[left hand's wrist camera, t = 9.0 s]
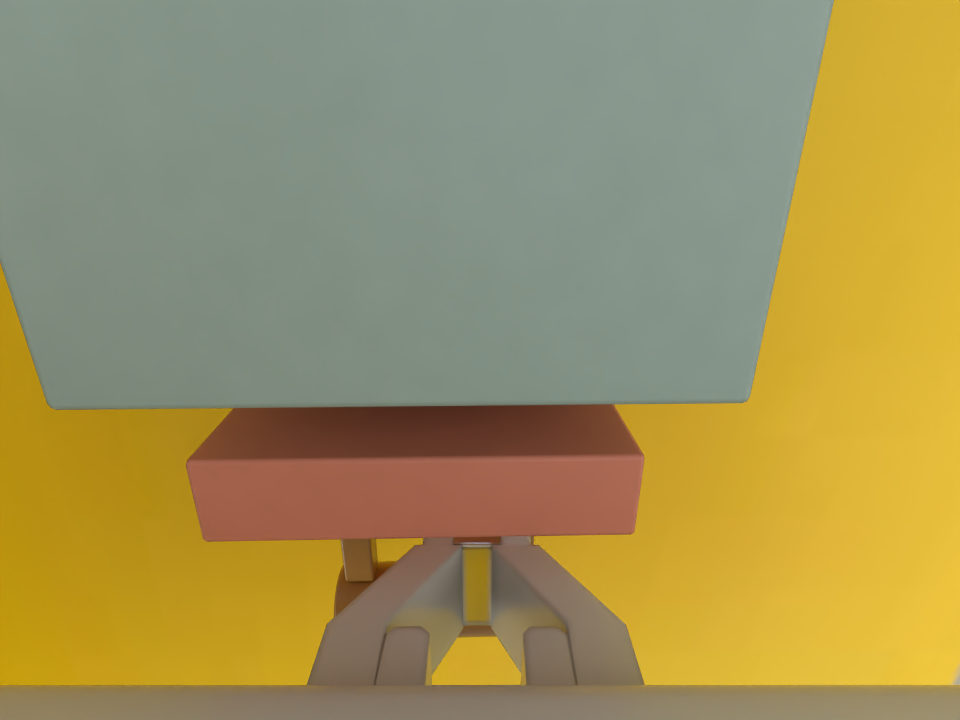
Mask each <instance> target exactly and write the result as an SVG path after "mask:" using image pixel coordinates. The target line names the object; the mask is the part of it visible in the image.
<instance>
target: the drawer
mask: <svg viewBox="0 0 960 720" xmlns="http://www.w3.org/2000/svg"><path fill="white" fill-rule="evenodd" d="M643 465H644V455H643V453H642V451H641V450H640V448H639V446H638V445H637V443H636V441H635V440H634V438H633V436H632V435H631V433H630V431H629V430H628V428H627V426H626V425H625V423H624V421H623V420H622V418H621V416H620V414H619V413H618V411H617V409H616V408H615V406H614V404H589V405H488V406H386V407H284V408H234V409H233V410H232V411H231V412H230V413H229V414H228V415H227V416H226V417H225V419H224V420H223V421H222V422H221V423H220V424H219V425H218V426H217V428H216V429H215V430H214V431H213V432H212V433H211V434H210V435H209V436H208V438H207V439H206V440H205V441H204V442H203V443H202V444H201V445H200V446H199V448H198V449H197V450H196V451H195V452H194V453H193V454H192V455H191V457H190V458H189V459H188V460H187V463H186V468H187V472H188V476H189V480H190V485H191V489H192V493H193V497H194V502H195V506H196V510H197V514H198V519H199V523H200V527H201V531H202V536H203V539H204V540H205V541H265V540H324V539H341V546H342V555H343V563H344V565H343V567H342V569H341V571H340V574H339V577H338V581H337V586H336V593H335V603H334V617H335V616H337V615H338V614H339V613H340V612H341V611H342V610H343V609H344V608H345V607H347V606H348V605H349V604H350V603H351V602H352V601H353V600H354V599H355V598H357V597H358V596H359V595H360V594H361V593H362V592H363V591H364V590H366V589H367V588H368V587H369V586H370V585H371V584H372V583H373V582H374V581H376V580H377V579H378V578H379V577H380V576H381V575H382V574H383V573H385V572H386V571H387V570H388V569H389V568H390V567H391V566H392V565H393V564H395V563H396V562H397V561H389V562H378V559H377V547H376V539H383V538H442V537H501V536H530V540H531V545H534V536H559V535H618V534H632V533H634V530H635V523H636V515H637V508H638V501H639V494H640V486H641V479H642V472H643ZM458 637H497V636H496V634H495V633H494V631H493V630H492V628H491V626H487V625H467V626H463V629H462V631H461V632H460V634H459V635H458Z"/></svg>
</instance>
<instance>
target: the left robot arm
mask: <svg viewBox="0 0 960 720" xmlns="http://www.w3.org/2000/svg"><path fill="white" fill-rule="evenodd" d="M467 625H487V626H491V628H492V630H493V631H494V633H495V634H496V636H497V637H498V639H499V640H500V642H501V644H502V645H503V647H504V648H505V650H506V651H507V653H508V654H509V656H510V657H511V659H512V660H513V662H514V663H515V665H516V666H517V668H518V669H519V671H520V672H521V685H432V674H433V673H434V671H435V670H436V668H437V667H438V665H439V664H440V662H441V661H442V659H443V658H444V656H445V655H446V653H447V652H448V650H449V649H450V647H451V646H452V644H453V643H454V641H455V640H456V638H457V637H458V635H459V634H460V632H461V631H462V629H463V626H467ZM0 720H960V685H644V681H643V678H642V675H641V672H640V668H639V665H638V662H637V659H636V656H635V652H634V649H633V646H632V643H631V639H630V636H629V633H628V630H627V626H626V624H624V623H623V622H622V621H621V620H620V619H619V618H618V617H617V616H616V615H615V614H614V613H612V612H611V611H610V610H609V609H608V608H607V607H606V606H605V605H604V604H603V603H602V602H600V601H599V600H598V599H597V598H596V597H595V596H594V595H593V594H592V593H591V592H590V591H588V590H587V589H586V588H585V587H584V586H583V585H582V584H581V583H580V582H579V581H577V580H576V579H575V578H574V577H573V576H572V575H571V574H570V573H569V572H568V571H567V570H565V569H564V568H563V567H562V566H561V565H560V564H559V563H558V562H557V561H556V560H555V559H553V558H552V557H551V556H550V555H549V554H548V553H547V552H546V551H545V550H544V549H543V548H541V547H540V546H539V545H531V540H530V536H501V537H442V538H424V539H423V545H415V546H414V547H412V548H411V549H410V550H409V551H408V552H407V553H406V554H405V555H403V556H402V557H401V558H400V559H399V560H398V561H397V562H396V563H395V564H393V565H392V566H391V567H390V568H389V569H388V570H387V571H386V572H385V573H383V574H382V575H381V576H380V577H379V578H378V579H377V580H376V581H374V582H373V583H372V584H371V585H370V586H369V587H368V588H367V589H366V590H364V591H363V592H362V593H361V594H360V595H359V596H358V597H357V598H355V599H354V600H353V601H352V602H351V603H350V604H349V605H348V606H347V607H345V608H344V609H343V610H342V611H341V612H340V613H339V614H338V615H337V616H335V617H334V618H333V619H332V620H331V621H330V622H329V623H328V624H327V625H326V628H325V631H324V634H323V638H322V641H321V644H320V647H319V650H318V653H317V656H316V659H315V662H314V665H313V668H312V671H311V674H310V677H309V680H308V683H307V685H0Z"/></svg>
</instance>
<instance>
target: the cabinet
mask: <svg viewBox="0 0 960 720" xmlns="http://www.w3.org/2000/svg"><path fill="white" fill-rule="evenodd" d="M833 2H834V0H0V263H1V266H2V269H3V272H4V275H5V278H6V281H7V284H8V287H9V290H10V293H11V296H12V299H13V302H14V305H15V308H16V311H17V314H18V317H19V320H20V323H21V326H22V329H23V332H24V335H25V338H26V341H27V344H28V347H29V350H30V353H31V356H32V359H33V362H34V365H35V368H36V371H37V374H38V377H39V380H40V383H41V386H42V389H43V392H44V395H45V398H46V401H47V404H48V405H49V406H50V407H51V408H53V409H56V410H80V409H182V408H284V407H386V406H488V405H589V404H691V403H743V402H746V401H747V400H748V398H749V397H750V393H751V388H752V383H753V378H754V374H755V369H756V364H757V360H758V355H759V350H760V345H761V341H762V336H763V331H764V327H765V322H766V317H767V313H768V308H769V303H770V298H771V294H772V289H773V284H774V280H775V275H776V270H777V265H778V261H779V256H780V251H781V247H782V242H783V237H784V232H785V228H786V223H787V218H788V214H789V209H790V204H791V199H792V195H793V190H794V185H795V181H796V176H797V171H798V167H799V162H800V157H801V152H802V148H803V143H804V138H805V134H806V129H807V124H808V119H809V115H810V110H811V105H812V101H813V96H814V91H815V86H816V82H817V77H818V72H819V68H820V63H821V58H822V53H823V49H824V44H825V39H826V35H827V30H828V25H829V21H830V16H831V11H832V6H833Z"/></svg>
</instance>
